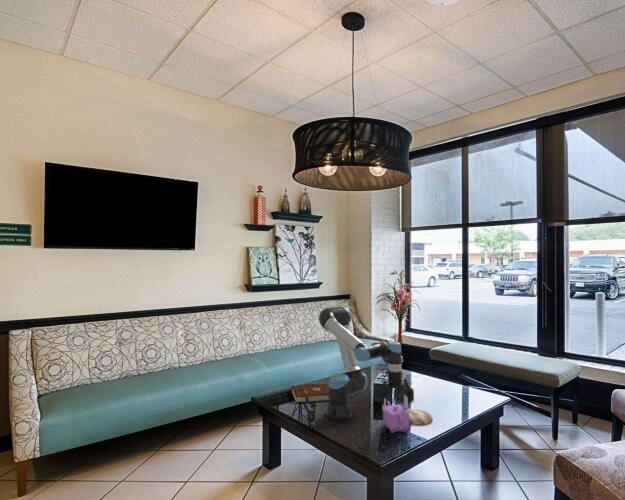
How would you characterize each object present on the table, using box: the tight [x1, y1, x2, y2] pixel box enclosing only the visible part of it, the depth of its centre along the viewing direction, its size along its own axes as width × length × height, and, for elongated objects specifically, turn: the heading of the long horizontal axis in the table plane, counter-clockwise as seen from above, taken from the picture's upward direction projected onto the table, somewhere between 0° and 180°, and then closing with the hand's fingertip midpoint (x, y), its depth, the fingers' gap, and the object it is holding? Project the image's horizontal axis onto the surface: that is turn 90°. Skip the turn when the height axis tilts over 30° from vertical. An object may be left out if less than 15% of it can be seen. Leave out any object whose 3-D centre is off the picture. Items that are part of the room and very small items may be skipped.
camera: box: [393, 382, 415, 402], centre depth 256 cm, size 13×10×10 cm
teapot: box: [382, 400, 410, 434], centre depth 212 cm, size 20×10×12 cm, turn 11°
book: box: [290, 383, 329, 403], centre depth 262 cm, size 23×32×5 cm
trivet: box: [404, 408, 433, 426], centre depth 225 cm, size 20×20×1 cm
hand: (395, 409), depth 212 cm, fingers open, 13 cm apart
